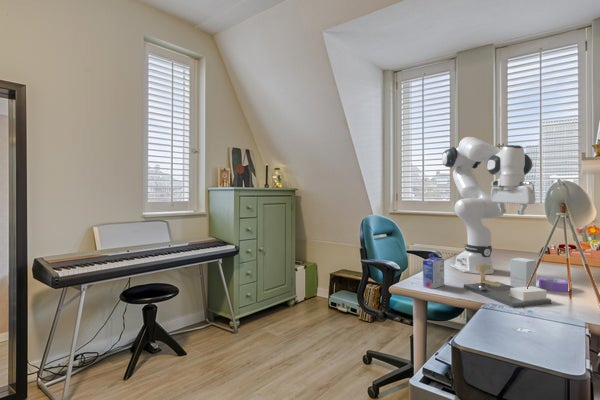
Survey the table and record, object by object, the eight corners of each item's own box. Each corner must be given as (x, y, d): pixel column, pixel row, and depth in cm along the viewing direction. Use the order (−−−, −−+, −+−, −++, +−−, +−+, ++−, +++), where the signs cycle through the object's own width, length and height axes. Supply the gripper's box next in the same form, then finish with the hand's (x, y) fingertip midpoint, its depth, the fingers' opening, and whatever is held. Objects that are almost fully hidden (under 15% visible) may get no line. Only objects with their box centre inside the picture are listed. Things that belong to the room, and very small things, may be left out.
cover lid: (510, 295, 137) (510, 288, 137) (532, 293, 140) (532, 286, 140) (523, 300, 131) (523, 292, 131) (546, 298, 134) (546, 290, 134)
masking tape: (535, 288, 153) (536, 279, 153) (541, 283, 161) (541, 275, 161) (568, 294, 144) (569, 285, 144) (573, 288, 153) (573, 280, 152)
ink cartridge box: (433, 282, 161) (433, 252, 161) (444, 285, 157) (445, 253, 157) (422, 286, 155) (422, 254, 155) (433, 289, 151) (433, 256, 150)
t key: (485, 284, 147) (486, 263, 147) (504, 288, 140) (504, 267, 140) (475, 286, 144) (475, 265, 143) (494, 291, 137) (494, 269, 136)
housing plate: (463, 287, 153) (463, 281, 153) (498, 284, 157) (498, 278, 157) (512, 307, 128) (512, 299, 128) (552, 303, 132) (552, 295, 132)
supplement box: (536, 288, 152) (537, 260, 151) (526, 290, 148) (526, 261, 148) (519, 284, 158) (520, 257, 158) (509, 286, 155) (510, 258, 155)
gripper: (540, 181, 141) (539, 215, 141) (499, 182, 161) (499, 212, 161) (527, 181, 139) (526, 215, 140) (488, 182, 159) (487, 212, 160)
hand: (511, 213), depth 151 cm, fingers open, 8 cm apart
